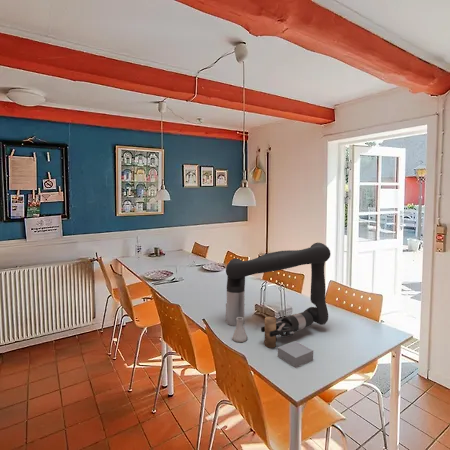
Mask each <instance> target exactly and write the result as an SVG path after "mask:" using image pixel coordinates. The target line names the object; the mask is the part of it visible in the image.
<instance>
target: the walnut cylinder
mask: <svg viewBox="0 0 450 450" xmlns="http://www.w3.org/2000/svg"><path fill="white" fill-rule="evenodd" d="M276 322H277V318H276V317H274V316H266V317H265V318H264V326H265V332H264V347H267V348H269V349H272V348H275V347H277V335H276V336H273V337H270V332H271V331H274V330H276Z"/></svg>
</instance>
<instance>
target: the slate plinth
mask: <svg viewBox="0 0 450 450" xmlns="http://www.w3.org/2000/svg"><path fill="white" fill-rule="evenodd" d="M277 357H278V358H279V359H281V360H283V361H284V362H286V363H287V364H289V365H290V366H292V367H293V368H296V369H297V368H299V367H300V366H303V365H305V364H308V363H310V362H312V361H314V350H313V349H311V348H309V347H308V346H306V345H304V344H302V343H300V342H298V341H296V340H294V341H291V342H288V343H285V344H283V345H280V346H278V347H277Z"/></svg>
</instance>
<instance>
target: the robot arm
mask: <svg viewBox="0 0 450 450" xmlns="http://www.w3.org/2000/svg"><path fill="white" fill-rule="evenodd" d="M330 258H331V250H330V248H329V247H328V246H327V245H325V244H324V243H322V242H314V243H313V244H311V246H310V247H307V248H303V249H302V248H301V249H299V250H298V249H296V250H295V249H293V250H290V249H289V250H279V251H273V252H269V253H266V254H262V255H260V256H258V257H256V258H252V259H249V260H242V259H240V258H238V257H237V258H235V257H234V258H233V259H231V260H229V261H228V263H227V265H226V267H225V274H226V277H227V280H226V303H225V321H226V324H227V325H229V326H231V327H232V326H233V327H236V325H237V320H236V318H237V317H242V318H243V325H244V324H245V300H246V299H245V295H246V294H245V287H246V277H248V276H249V277H250V276H252V275H257V274H264V273H271V272H278V271H283V270H286V269H290V268H295V267H298V266H303V265H304V266H305V265H310V268H311V278H310V282H311V283H310V302H311V303H312V304H313V305H314V306H310V307H308V308H306V309H305V310H304V311H302V312H299V313H294V314H291V315H290V314H289V315H287V316H284V317H282V318H281V320H279V321H278V320H276V330H274V331H271V332H270V337H273V336H276V337H277V336H278V337H279V336H280V337H281V338H284V337H289V336H293V335H294V333H296V332H300V331H301V330H303V329H305V328H308V327H311V326H312V325H313V323H315V324H319V325H323V326H324V325H325V324H327V322H328V320H329V312H328V308H327V307H328V306H327V303H326V291H327V290H326V279H325V265H326V262H327V261H328V260H329V259H330ZM260 331H261V333H265V325H264V326H262V327H261V328H260Z"/></svg>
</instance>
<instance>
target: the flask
mask: <svg viewBox="0 0 450 450" xmlns="http://www.w3.org/2000/svg"><path fill="white" fill-rule="evenodd" d="M236 320H237V325H236V326H235V329H234V332H233V335H232V337H231V340H232V341H233V342H235V343H245V342H247V341H248V338H249V337H248V335H247V332H246V329H245V327H244V324H243V318H242V317H237V318H236Z"/></svg>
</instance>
